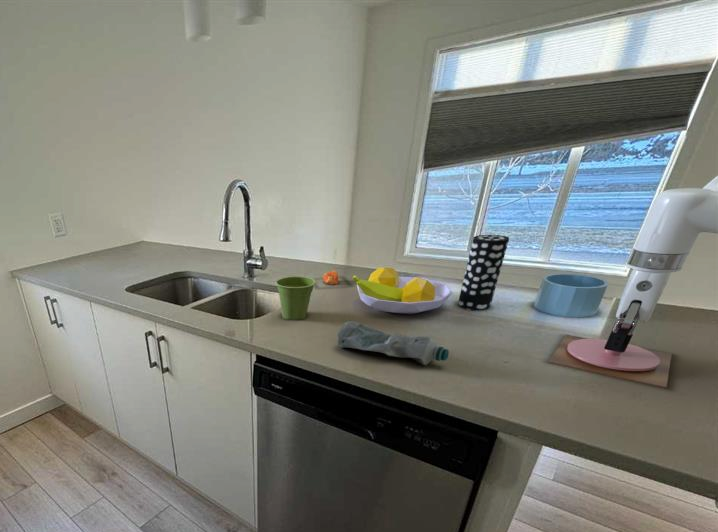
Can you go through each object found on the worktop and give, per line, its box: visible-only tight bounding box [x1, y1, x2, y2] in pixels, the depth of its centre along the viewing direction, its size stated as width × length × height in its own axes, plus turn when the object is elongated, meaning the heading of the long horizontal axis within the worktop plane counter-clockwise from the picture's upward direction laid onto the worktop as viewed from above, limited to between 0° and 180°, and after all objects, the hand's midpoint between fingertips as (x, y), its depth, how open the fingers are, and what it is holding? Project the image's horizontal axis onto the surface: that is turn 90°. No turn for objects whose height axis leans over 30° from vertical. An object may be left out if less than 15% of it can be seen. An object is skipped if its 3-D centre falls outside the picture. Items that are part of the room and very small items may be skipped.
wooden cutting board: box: [548, 334, 673, 389], centre depth 88 cm, size 18×18×1 cm
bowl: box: [533, 273, 610, 318], centre depth 111 cm, size 14×14×8 cm
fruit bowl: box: [352, 266, 454, 315], centre depth 123 cm, size 28×27×11 cm
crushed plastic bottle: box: [337, 320, 450, 366], centre depth 97 cm, size 13×7×25 cm
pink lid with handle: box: [567, 320, 660, 371], centre depth 86 cm, size 15×15×8 cm
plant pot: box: [275, 275, 317, 321], centre depth 123 cm, size 12×12×11 cm
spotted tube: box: [457, 234, 510, 312], centre depth 116 cm, size 8×8×20 cm
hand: (616, 344), depth 86 cm, fingers open, 5 cm apart
